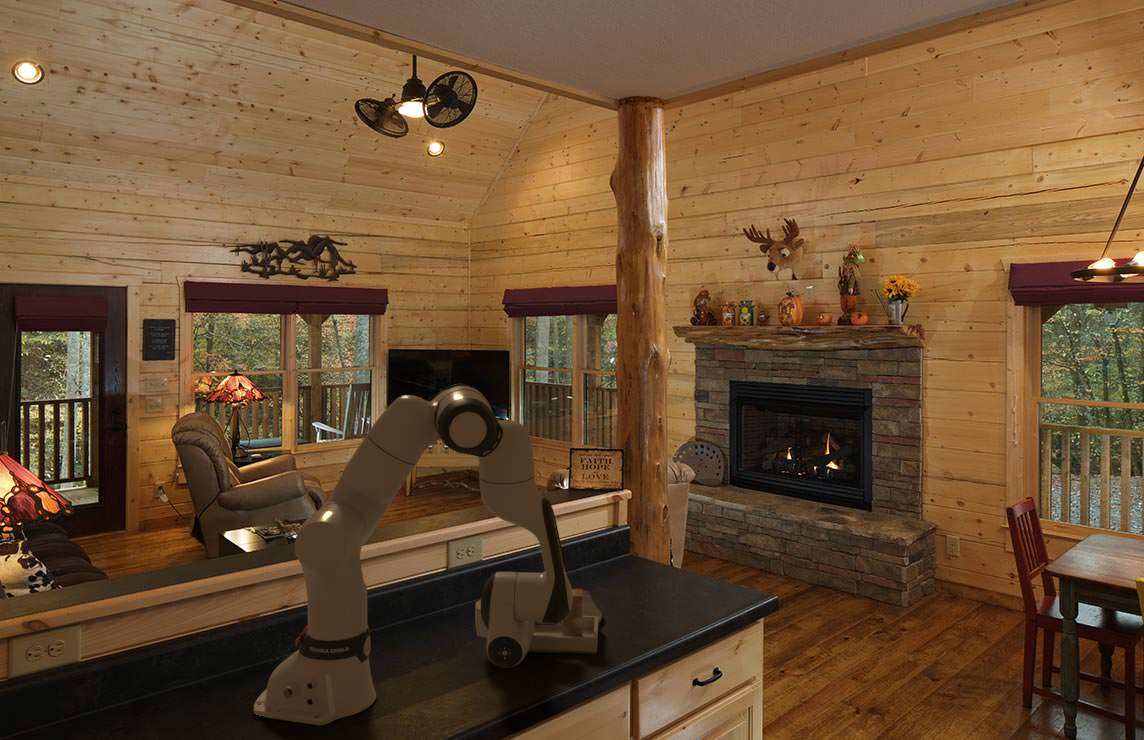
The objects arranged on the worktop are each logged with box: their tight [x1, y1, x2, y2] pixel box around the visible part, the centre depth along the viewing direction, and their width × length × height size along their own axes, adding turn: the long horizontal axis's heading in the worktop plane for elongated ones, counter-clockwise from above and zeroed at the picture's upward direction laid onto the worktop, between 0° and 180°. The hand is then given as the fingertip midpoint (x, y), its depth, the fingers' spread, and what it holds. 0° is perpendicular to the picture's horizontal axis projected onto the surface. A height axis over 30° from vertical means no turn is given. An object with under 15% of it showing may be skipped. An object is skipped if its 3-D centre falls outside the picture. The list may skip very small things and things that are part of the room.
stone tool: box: [572, 587, 603, 624], centre depth 194 cm, size 20×3×25 cm
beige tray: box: [527, 616, 599, 655], centre depth 177 cm, size 24×14×4 cm, turn 87°
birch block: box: [563, 589, 584, 637], centre depth 176 cm, size 4×4×11 cm
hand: (523, 600), depth 178 cm, fingers closed on sage jar, 5 cm apart
